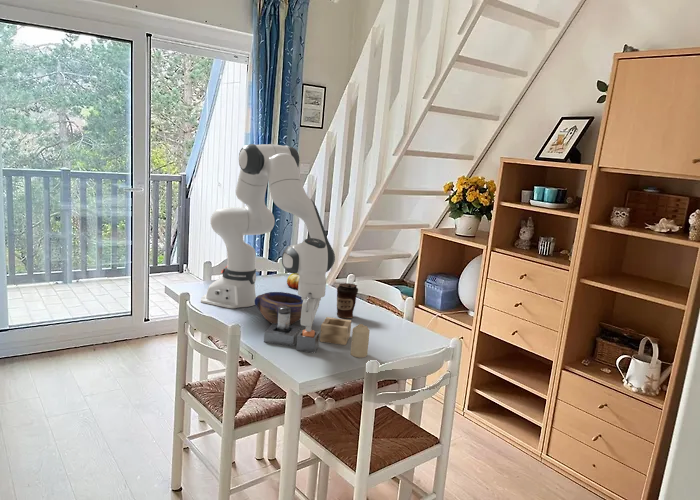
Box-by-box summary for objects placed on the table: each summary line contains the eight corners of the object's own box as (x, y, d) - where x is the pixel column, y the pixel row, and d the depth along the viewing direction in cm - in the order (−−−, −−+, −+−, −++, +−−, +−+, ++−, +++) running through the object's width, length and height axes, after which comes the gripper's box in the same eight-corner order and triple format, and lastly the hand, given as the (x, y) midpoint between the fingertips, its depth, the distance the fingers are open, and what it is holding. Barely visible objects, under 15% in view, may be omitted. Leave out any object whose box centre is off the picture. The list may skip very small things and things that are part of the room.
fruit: (285, 288, 242) (286, 271, 243) (287, 289, 252) (288, 272, 253) (310, 290, 242) (311, 272, 243) (311, 290, 252) (312, 274, 253)
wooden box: (319, 341, 182) (321, 324, 180) (325, 332, 190) (326, 317, 189) (345, 345, 180) (347, 328, 179) (350, 336, 189) (351, 320, 188)
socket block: (263, 341, 177) (264, 332, 176) (272, 332, 187) (273, 322, 186) (292, 346, 175) (293, 336, 175) (300, 336, 185) (301, 326, 184)
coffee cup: (353, 321, 206) (356, 289, 203) (332, 318, 207) (335, 286, 205) (357, 314, 214) (360, 283, 212) (337, 311, 216) (340, 281, 213)
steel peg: (274, 340, 179) (276, 309, 177) (278, 336, 183) (280, 305, 181) (286, 341, 179) (288, 310, 177) (290, 337, 183) (292, 307, 181)
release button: (300, 345, 173) (301, 332, 172) (303, 341, 177) (304, 328, 176) (312, 347, 172) (313, 334, 171) (315, 342, 176) (316, 330, 175)
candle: (349, 350, 176) (352, 322, 174) (366, 351, 176) (369, 323, 174) (351, 357, 170) (353, 327, 168) (368, 358, 171) (371, 328, 169)
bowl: (316, 324, 198) (318, 299, 196) (277, 333, 186) (279, 306, 184) (287, 311, 211) (288, 287, 209) (248, 319, 198) (250, 293, 196)
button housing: (296, 350, 172) (297, 335, 171) (301, 343, 178) (302, 329, 177) (314, 352, 171) (315, 338, 170) (318, 346, 177) (319, 332, 176)
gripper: (318, 299, 161) (314, 342, 163) (324, 282, 181) (321, 321, 183) (297, 297, 161) (294, 340, 163) (306, 280, 181) (303, 319, 184)
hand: (308, 330), depth 174 cm, fingers closed
